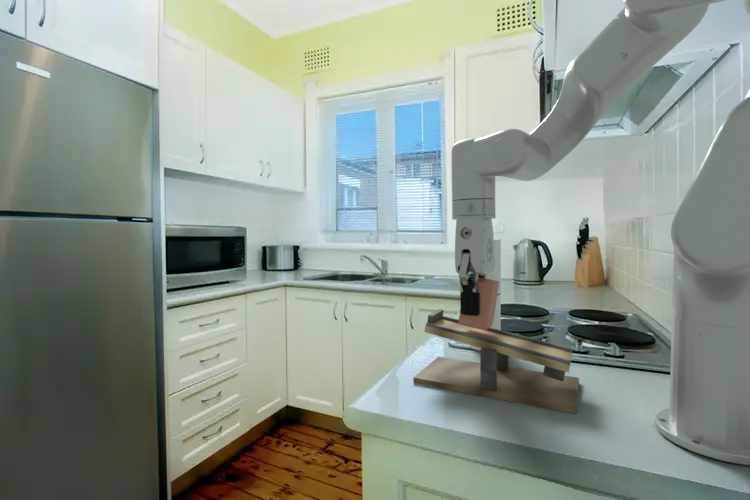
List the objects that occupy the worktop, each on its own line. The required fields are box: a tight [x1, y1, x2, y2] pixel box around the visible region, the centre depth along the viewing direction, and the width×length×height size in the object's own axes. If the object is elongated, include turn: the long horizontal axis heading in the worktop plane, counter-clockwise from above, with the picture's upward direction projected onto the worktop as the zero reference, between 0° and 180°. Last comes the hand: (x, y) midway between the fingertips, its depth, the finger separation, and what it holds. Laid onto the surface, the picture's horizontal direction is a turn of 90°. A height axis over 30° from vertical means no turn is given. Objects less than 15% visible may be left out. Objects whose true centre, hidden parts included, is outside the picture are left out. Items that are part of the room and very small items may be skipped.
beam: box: [424, 308, 574, 381], centre depth 70 cm, size 24×8×5 cm, turn 61°
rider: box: [458, 277, 500, 330], centre depth 71 cm, size 5×5×8 cm
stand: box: [413, 348, 580, 415], centre depth 70 cm, size 26×13×8 cm, turn 61°
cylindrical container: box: [469, 238, 502, 352], centre depth 92 cm, size 7×7×25 cm
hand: (474, 310), depth 72 cm, fingers closed on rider, 5 cm apart
